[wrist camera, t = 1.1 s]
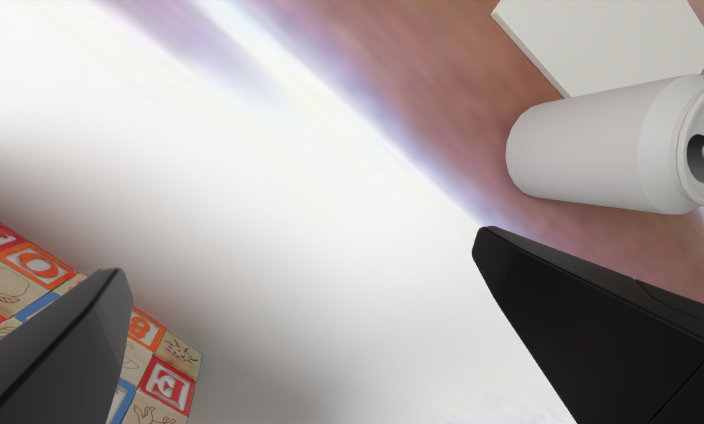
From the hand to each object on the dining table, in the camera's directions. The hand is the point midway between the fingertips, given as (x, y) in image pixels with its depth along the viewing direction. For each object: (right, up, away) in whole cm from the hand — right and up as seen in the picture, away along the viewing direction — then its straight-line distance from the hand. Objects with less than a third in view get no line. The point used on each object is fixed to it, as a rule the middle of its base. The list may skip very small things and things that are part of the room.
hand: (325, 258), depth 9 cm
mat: (+23, +16, +20) cm, 34 cm away
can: (+16, +6, +20) cm, 26 cm away
